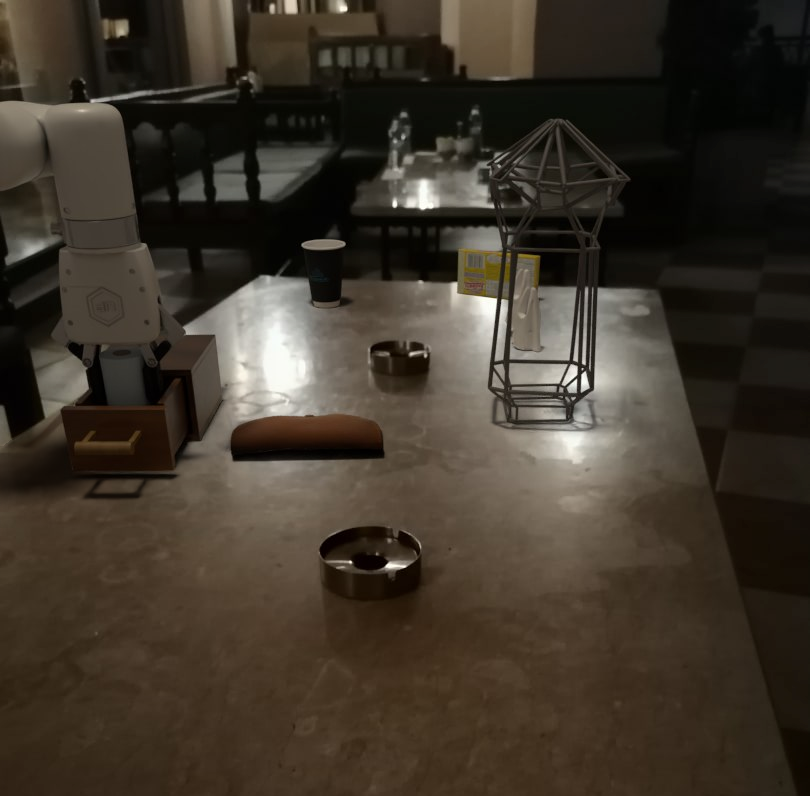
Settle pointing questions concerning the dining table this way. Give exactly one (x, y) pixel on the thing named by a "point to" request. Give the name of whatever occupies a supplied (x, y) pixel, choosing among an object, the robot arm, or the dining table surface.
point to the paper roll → (124, 376)
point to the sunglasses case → (306, 434)
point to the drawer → (128, 431)
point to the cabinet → (193, 377)
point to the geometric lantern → (612, 195)
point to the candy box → (490, 272)
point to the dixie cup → (324, 271)
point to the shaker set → (525, 314)
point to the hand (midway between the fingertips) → (129, 395)
